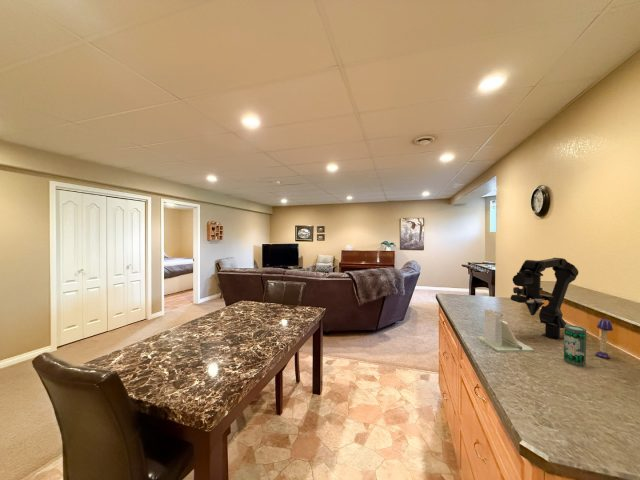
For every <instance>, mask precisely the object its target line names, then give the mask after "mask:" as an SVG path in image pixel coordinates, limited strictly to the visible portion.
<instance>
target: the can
mask: <svg viewBox="0 0 640 480" xmlns="http://www.w3.org/2000/svg"><path fill="white" fill-rule="evenodd" d="M563 335H564V336H563V337H564V338H563V341H564V342H563V346H564V347H563V361H564V362H565V363H567V364H570V365H573V366H576V367H580V368H581V367H586V362H587V361H586V360H587V359H586V357H587V356H586V354H587V328H584V327H581V326H577V325H571V324H566V325H565V327H564V334H563Z"/></svg>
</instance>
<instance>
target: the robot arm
mask: <svg viewBox="0 0 640 480" xmlns="http://www.w3.org/2000/svg"><path fill="white" fill-rule="evenodd" d="M549 268H551V269H552V271H554V277H555V280H556V281H555V283H554V286H553V289H552V291H551V295H549V294H543V293H541V291H543V287H541V285H542V284H541V283H542V281H541V278H542V277H544V274H543V273H542V272H545V271H546V270H547V269H549ZM578 275H579V270H578V268H577V267H576V266H575V265H574V264H572V263H570V262H568V261H567V260H566V259H565V258H563V257H552V258H546V259H540V260H534V259H526V260H524V262H522V265H521V267H520V268H519V271H517V272H516V274H515V275H514V276H513V277H512V283H513V284H514V285H515V287H513V289H512V291H513V294H512V295H510V301H512V302H517V303H518V304H525V305H526V307H527V309H528V311H529V313H530V315H531V316H535V314H536V313H537V312H538V311H539V309H540V311H539V314H538V318H539V320H540V323H541V324H544V325H545V328H544V330H545V331H544V333H541V336H544V337H548V338H551V339H554V340H560V339H564V336H562V335H561V329H565V325H567V322H566V321H565V320H564V319H563V312H562V310H561V307H562V305H563V302H564V299H565V296H566V294H567V290H568V287H569V285H570V284H572V282H574V281H575V280H576V279H577V277H578ZM520 287H522V288H520ZM543 301H547V302H548V303H547V305H545V302H543Z"/></svg>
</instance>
